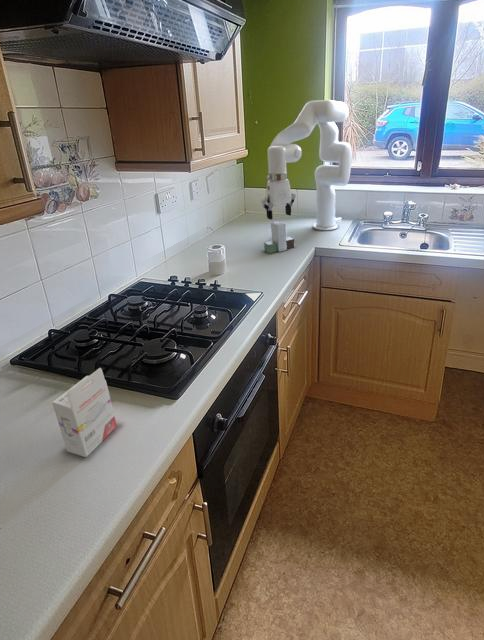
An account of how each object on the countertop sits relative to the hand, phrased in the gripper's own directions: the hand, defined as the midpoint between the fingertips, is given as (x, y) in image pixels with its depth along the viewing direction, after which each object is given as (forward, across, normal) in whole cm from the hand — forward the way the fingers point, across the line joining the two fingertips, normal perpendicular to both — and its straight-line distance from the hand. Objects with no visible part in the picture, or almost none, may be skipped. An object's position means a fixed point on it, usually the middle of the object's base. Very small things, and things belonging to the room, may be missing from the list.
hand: (279, 216), depth 176 cm
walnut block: (+15, +4, 0) cm, 15 cm away
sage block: (+15, -5, 0) cm, 16 cm away
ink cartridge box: (+13, -94, -71) cm, 119 cm away
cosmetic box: (+15, -1, 0) cm, 15 cm away
